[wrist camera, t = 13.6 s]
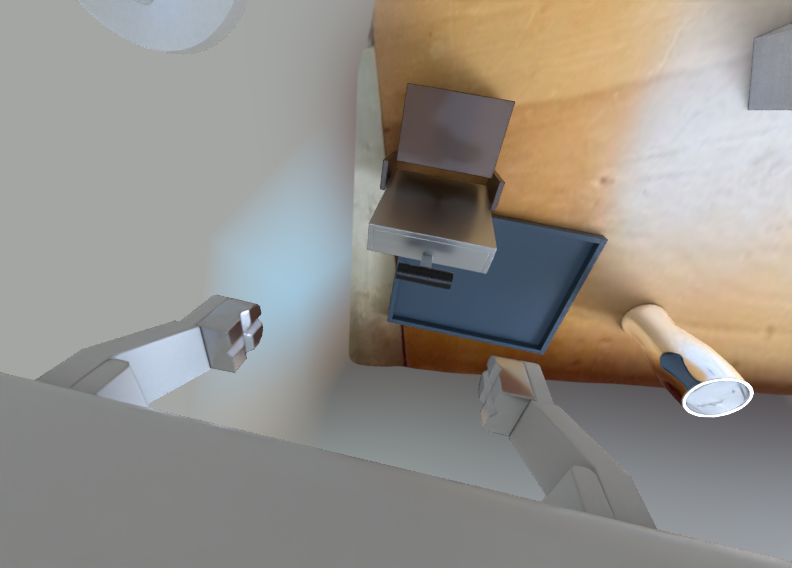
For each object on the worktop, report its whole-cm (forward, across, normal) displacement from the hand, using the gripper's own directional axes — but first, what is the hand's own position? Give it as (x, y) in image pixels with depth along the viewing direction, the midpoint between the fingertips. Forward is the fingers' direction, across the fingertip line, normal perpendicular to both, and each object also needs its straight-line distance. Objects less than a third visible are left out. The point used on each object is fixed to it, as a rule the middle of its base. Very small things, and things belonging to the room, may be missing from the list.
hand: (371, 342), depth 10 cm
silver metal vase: (+35, -38, +16) cm, 54 cm away
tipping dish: (+24, -2, +2) cm, 24 cm away
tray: (+35, -12, +15) cm, 40 cm away
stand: (+35, -2, -4) cm, 35 cm away
